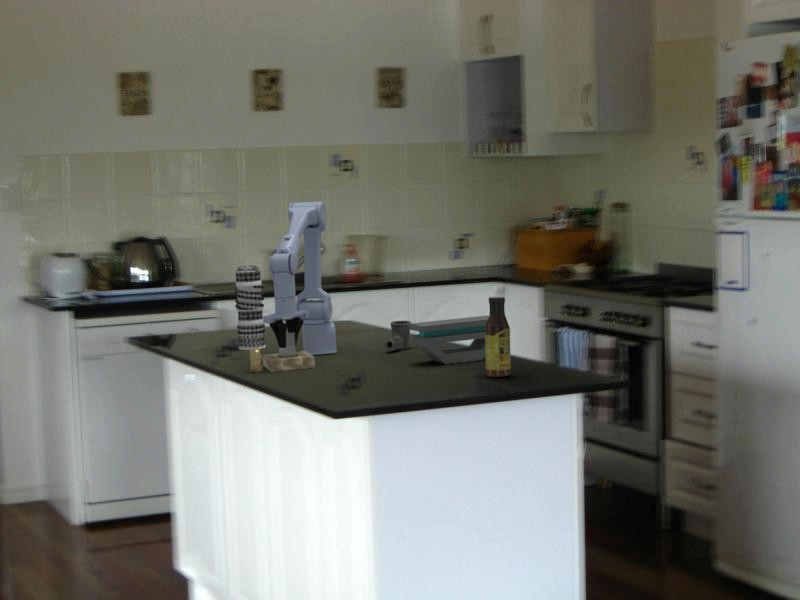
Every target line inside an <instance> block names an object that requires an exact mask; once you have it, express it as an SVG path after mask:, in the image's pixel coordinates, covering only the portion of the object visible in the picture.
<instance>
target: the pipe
mask: <svg viewBox="0 0 800 600" xmlns="http://www.w3.org/2000/svg"><path fill="white" fill-rule="evenodd" d="M389 323H390V328H391V338H390V337H388V338H386V340H385V342H384V346H385V350H386V351H387V352H395V351H400V350H407V349H409V346H410V345H409V343H410V342H409V341H410V332H411V330H410V329H409V324H410V323H413V322H412V321H410V320H396V321H391V322H389Z"/></svg>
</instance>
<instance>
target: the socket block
mask: <svg viewBox="0 0 800 600" xmlns="http://www.w3.org/2000/svg"><path fill="white" fill-rule="evenodd" d="M300 351H301V350H300ZM300 351H296V357H286V358H280V357H279V352H278V353H267V354H262V364H263V367H264V368H266V369H267V370H268V371H269V372H271V373H273V372H285V371H293V370H294V371H297V370H305V369H306V370H307V369H316V361H315V358H316V357H315V355H311V354H309V353H307V352H306V351H301V352H300Z"/></svg>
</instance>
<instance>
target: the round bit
mask: <svg viewBox="0 0 800 600" xmlns="http://www.w3.org/2000/svg"><path fill="white" fill-rule="evenodd" d="M249 361H250V362H249V363H250V373H251V372H254V373H253V374H259V372H261V373H264V366H263V349H251V350H249Z"/></svg>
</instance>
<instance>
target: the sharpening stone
mask: <svg viewBox="0 0 800 600" xmlns="http://www.w3.org/2000/svg"><path fill="white" fill-rule="evenodd" d="M489 316H490V314H489V315H480V316H470V317H469V316H468V317H461V318H459V317H458V318H451V319H441V320H439V319H438V320H431V321H421V322H412V323H410V324H409V329H410V331H413V332H418V334H415V335H413V334H412V343H413V345H414V346H416V347H417V348H418V350H420V351H421V352H422V353H424V354H425V356H427V357H428V358H429V359H430V360H431V361H432V360H433V361H432V362H435V361H437V362H436V363H439V362H440V363H439V364H443V363H444V365H451V364H450V363H453V364H459V362H461V363H467V362H468V361H470V362H476V361H477V360H478V361H483V360H485V359H486V355H485V334H486V332H485V325H486V322H487V320H488V318H489ZM471 340H472V342H471V343H470V344H469V346H461V347H452V348H442V349H441V348H440V347H439V346H438V345H437V344H445V343H453V342H461V341H463V342H464V341H471Z"/></svg>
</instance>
